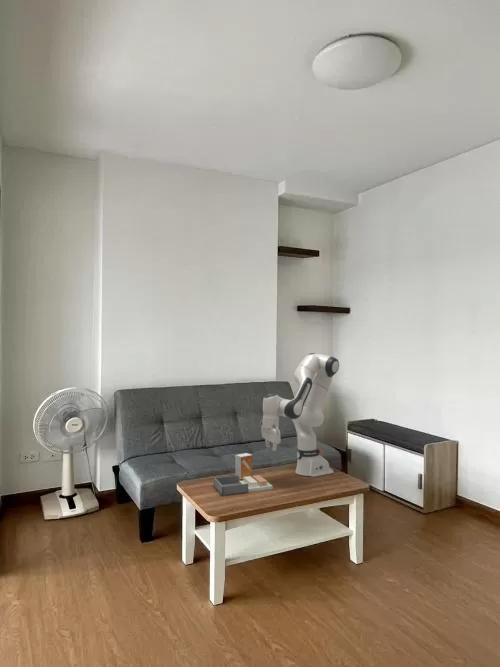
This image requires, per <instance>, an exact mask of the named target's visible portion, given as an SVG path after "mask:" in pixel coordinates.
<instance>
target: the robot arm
mask: <svg viewBox="0 0 500 667" xmlns="http://www.w3.org/2000/svg"><path fill="white" fill-rule="evenodd" d="M339 369H340V362H339V359H338V358H337V357H334V356H330V355H326V354H321V353H315V352H311V353H308V354H306V356H305V357H304V358H303V359H302V360H301V362H299V364H298V366H297V367H296V369H295V370H294V374H293V378H294V381H295V382H296V383H297V384H298V385H299V389H298V391H297V393H296V395H295V397H294V398H292V399H286V398H283V397H281V396H279V395H278V393H268V394H266V395H264V396H263V400H262V413H263V416H262V420H260V428H261V429H260V430H261V437H262V439H264V440H265V447H266V448H270V447H271V444H272V447H271V451H272V452H276V451H277V446H278V444H281V441H282V440H281V438H282V436H281V430H280V429H279V427H280V416H281V417H284V418H288V419H290V420H291V421H292V422H293V425H294V428H295V431H296V438H297V440H296V441H297V448H296V459H297V462H296V463H297V464H296V468H295V474H297V475H300V476H304V477H305V476H307V477H308V476H309V477H319V476H325V475H330V474H334V469H333V468H331V467H330V464H329V461H328V460H327V459H325V458H324V457H323V456H322V455H320V454H323V450H322V449H319V448H317V435H316V433H315V432H314V430H313V428H317V427H320V426H321V425H322V424H323V423H324V420H325V416H324V413H323V405H324V401H325V399H326V397H327V395H328V392H329V390H330V388H331V385H332V380H333V377H334V375H336V373H338V371H339ZM306 402H307V404H306V405H305V403H306ZM270 443H271V444H270Z"/></svg>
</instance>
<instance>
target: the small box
mask: <svg viewBox="0 0 500 667" xmlns="http://www.w3.org/2000/svg"><path fill="white" fill-rule="evenodd" d="M234 456H235V457H234V459H235V462H234V463H235V464H234V467H235V473H234V475H239V478H243V477H247V476H251V477H252V478H253V454H251V453H248V452H245V453H238V454H235V455H234Z"/></svg>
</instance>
